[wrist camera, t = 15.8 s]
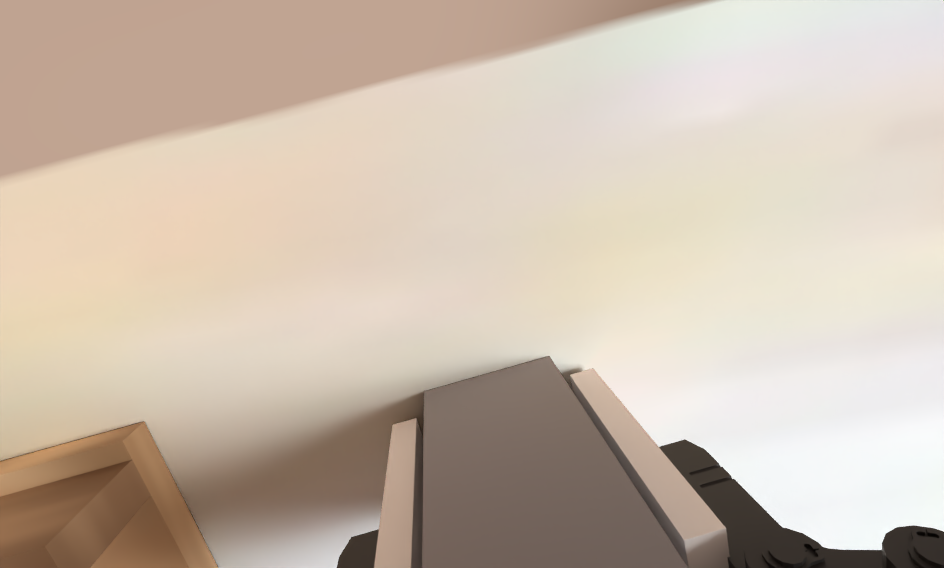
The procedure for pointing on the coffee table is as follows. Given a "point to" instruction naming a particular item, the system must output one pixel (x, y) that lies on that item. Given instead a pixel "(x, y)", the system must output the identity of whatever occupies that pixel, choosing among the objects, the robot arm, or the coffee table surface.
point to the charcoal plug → (528, 480)
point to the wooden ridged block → (97, 507)
